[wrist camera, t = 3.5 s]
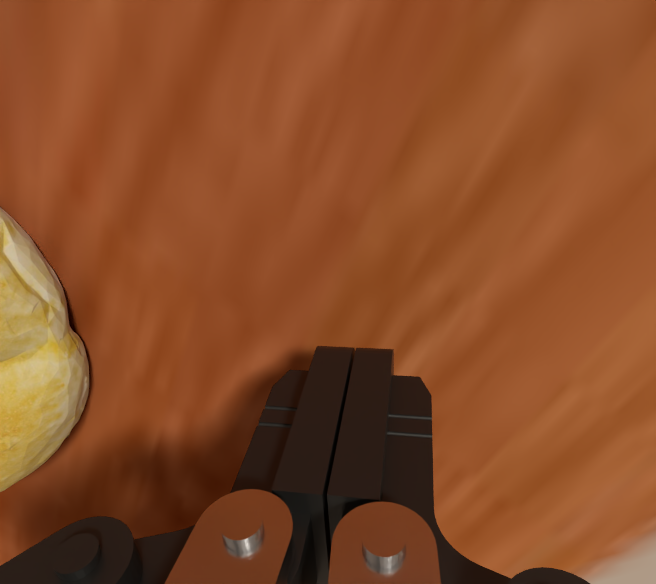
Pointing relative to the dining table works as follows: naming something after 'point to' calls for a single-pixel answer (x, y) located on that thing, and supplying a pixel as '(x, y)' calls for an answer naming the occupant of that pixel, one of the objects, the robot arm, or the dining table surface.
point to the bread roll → (34, 358)
